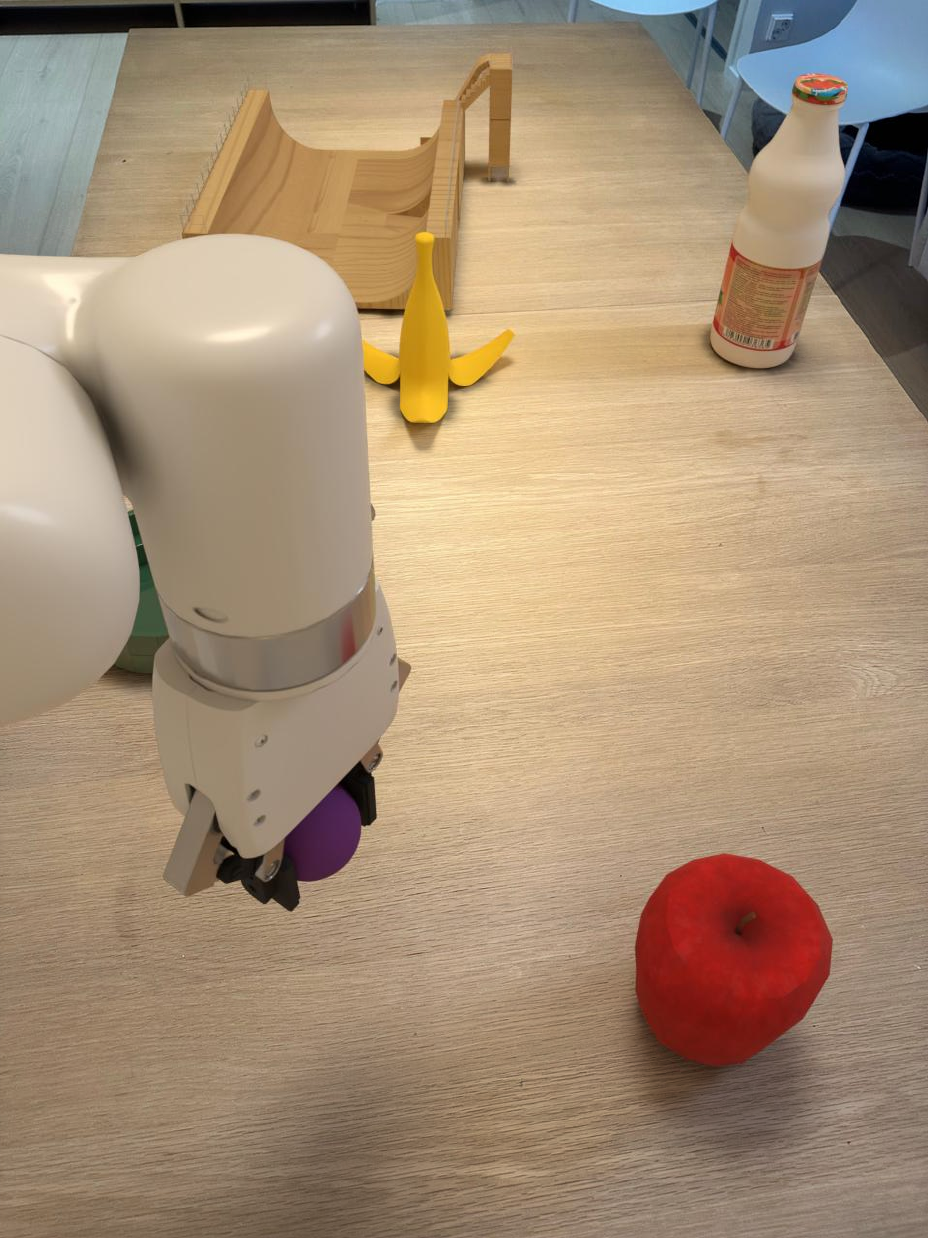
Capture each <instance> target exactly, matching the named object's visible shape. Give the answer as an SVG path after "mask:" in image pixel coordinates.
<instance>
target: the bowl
mask: <svg viewBox="0 0 928 1238" xmlns="http://www.w3.org/2000/svg"><path fill="white" fill-rule="evenodd" d="M127 512H128V517H129V521H130V525H131V529H132V533H133V538H134V542H135V547H136V551H137V557H138V564H139V575H140V593H139V604H138V608H137V613H136V617H135V621H134V625H133V629H132V632H131V635H130V637H129V639H128V641H127V643H126V644H125V646H124V648H123V649H122V651H121V653H120V655H119V656H118V658H117V660H116V661H115V663H114V664H113V665H112V666H113V667H116V668H119V669H122V670H125V671H128V672H129V671H130V672H132V673H136V674H152V675H153V668H154V657H155V654H156V652H157V650H158V649H159V648H160V647H161V646H162V645H163V644H164V643H165V642H166V640H167V639H168V638H169V634H168V630H167V627H166V623H165V620H164V616H163V612H162V609H161V605H160V602H159V598H158V595H157V591H156V588H155V584H154V581H153V577H152V574H151V570H150V567H149V563H148V560H147V556H146V553H145V549H144V545H143V542H142V538H141V535H140V531H139V528H138V524H137V521H136V517H135V514H134V510H133V509H131V510H127ZM112 666H111V667H112Z"/></svg>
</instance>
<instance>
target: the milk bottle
mask: <svg viewBox="0 0 928 1238" xmlns="http://www.w3.org/2000/svg"><path fill="white" fill-rule="evenodd" d="M848 92H849V85H848V83H847V82H846V81H845V80H844V79H842V78H840V77H837V76H834V75H830V74H825V73H817V72H815V73H813V72H811V73H805V74H801V75H799V76H797V78H796V79H795V81H794V83H793V86H792V88H791V95H790V98H791V101H792V103H791V106H790V107H789V110H788V112H787V114H786V115H785V118H784V119H783V121H782V123H781V124H780V126H779V128H778V129H777V131H776V133H775V134H774V135H773V137H772V139H771V140H770V141H769V142H768V143H767V144H766V145H765V146H764V147H763V148H761V149H760V150H759V152H758V153H757V154H756V155H755V157H754V159H753V161H752V164H751V166H750V170H749V172H748V177H747V191H748V192H747V195H748V196H747V201H746V202H745V204H744V206H743V207H742V209H741V210H740V212H739V214H738V217H737V220H736V223H735V227H734V230H733V233H732V237H731V243H730V247H729V252H728V256H727V259H726V260H727V261H726V264H725V269H724V273H723V277H722V281H721V285H720V290H719V293H718V298H717V302H716V307H715V311H714V316H713V318H712V319H713V320H712V324H711V328H710V344H711V348H713V350H714V351H715V353H716V354H717V355H719V356H720V357H721V358H722V359H724V360H726V361H727V362H729V363H732V364H734V365H737V366H741V367H745V368H751V369H769V368H774V367H778V366H779V365H782V364H784V363H786V361H788V360H789V359H790V358H791V356H792V355H793V353H794V351H795V348H796V346H797V343H798V339H799V337H800V333H801V331H802V330H801V329H802V326H803V323H804V320H805V316H806V314H807V311H808V307H809V304H810V301H811V297H812V294H813V292H814V288H815V285H816V282H817V278H818V275H819V271H820V268H821V265H822V261H823V259H824V256H825V253H826V249H827V246H828V241H829V238H830V232H831V219H830V215H831V211H832V210H833V208H834V206H835V205H836V204H837V202H838V200H839V198H840V196H841V195H842V191H843V188H844V184H845V181H846V180H845V179H846V168H845V164H844V161H843V158H842V153H841V147H840V134H839V133H840V132H839V128H840V127H839V112H840V109H841V108H842V107H844V105H845V102H846V100H847V97H848Z"/></svg>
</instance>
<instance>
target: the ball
mask: <svg viewBox="0 0 928 1238" xmlns="http://www.w3.org/2000/svg"><path fill="white" fill-rule="evenodd" d="M361 836H362V825H361V817H360V813H359V809H358V806H357V804H356V802H355V800H354V799H353V797H352V796H351V794H350V793H349V792H348V791H347V790H346V789H345V788H344V787H343V786H342V785H340V784H339V783H338V784H337V785H336V786H335V787H334V788H333V789H332V790H331V791H330V792H329V793H328V794H327V795H326V796H325V797H324V798H323V799H322V800H321V801H320V802H319V803H318V804H317V805H316V806H315V807H314V809H313V810H312V811H311V812H310V813H309V814H308V815H307V816H306V817H305V818H304V819H303V820H302V821H301V822H300V823H299V824H298V825H297V826H296V827H295V828H294V829H293V830H292V831H291V832H290V833H289V834H288V835H287V836H286V837H285V843H284V850H283V854H284V855H285V856H287V857H288V858H289V859H290V860H291V861H292V862H293V863H294V867H295V872H296V877H297V882H304V883H305V882H306V883H310V882H311V883H312V882H318V881H322V880H325V879H328V878H330V877H332V876H334V875H335V874H337V873H338V872H339V871H341V870H342V869H344V867H346V865H347V864H349V862H350V861H351V859H353V857H354V856H355V854H356V851H357V850H358V847H359V843H360V841H361Z"/></svg>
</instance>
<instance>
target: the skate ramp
mask: <svg viewBox="0 0 928 1238" xmlns="http://www.w3.org/2000/svg"><path fill="white" fill-rule="evenodd" d="M492 40H493V41H495V40H496V41H497V40H504V41H505V40H506V41H511V39H510V38H490V41H492ZM494 48H496V49H500V48H501V49H509V52H504V53H503V52H502V53H501V52H492V49H494ZM489 49H490V50H489V51H490V52H488V53H486V54H484V55H483V56H481V57H479V58H478V59H477V61H476V62H475V63H474V65H473V68H472V69H471V71H470V73H469V74H468V76H467V78H466V79H465V81H464V83H463V84H462V86H461V88H460V90H459V92H458V93H457V95H456V97H455V98H454V99H443V102H442V109H441V110H442V111H441V117H440V123H439V126H438V128H437V130H436V131H435V133H434V134H433V135H432V136H420V137H419V140H420V141H419V146H417V147H414V148H410V149H407V150H406V149H405V150H370V149H369V150H368V149H367V150H366V149H365V150H364V149H320V148H315V147H314V148H313V147H310V146H307V145H304V144H302V143H300V142H299V141H298V140H295V139H294V138H293V137H292V136H290V135H289V134H288V133H287V132H286V130H284V128H283V127H282V125H281V124H280V123H279V121H278V119H277V118H276V115H275V113H274V110H273V106H272V102H271V96H270V89H255V88H254V89H253V88H252V89H251V88H248V87H250V86H251V83H261V81H258V80H257V81H253V80H252V81H251V80H249V79H250V77H249V75H250V74H246V77H245V79H244V81H243V83H242V85H241V88H240V89H239V91H238V94H237V96H236V98H235V100H234V103H233V104H232V107H231V108H230V111H229V113H228V115H227V117H226V119H225V121H224V123H223V126H222V127H221V130H220V131H219V134H218V136H217V138H216V140H215V142H214V145H213V146H212V148H211V150H210V152H209V155H208V157H207V159H206V161H205V163H204V165H203V167H202V170H201V172H200V174H199V176H198V178H197V180H196V181H195V184H194V186H193V188H192V191H191V193H190V194H189V197H188V199H187V201H186V203H185V205H184V207H183V209H182V211H181V214H179V219H180V223H181V228H182V232H181V236H182V239H186V238H191V237H197V236H203V235H214V234H248V235H258V236H264V237H270V238H274V239H278V240H282V241H285V242H289V243H291V244H293V245H296V246H298V247H300V248H302V249H305V250H307V251H309V252H311V253H313V254H314V255H316V256H317V257H319V258H320V259H322V260H324V261H325V262H326V263H327V264H328V265H329V266H330V267H331V268H332V269H333V270H334V271H335V272H336V273H337V274H338V275H339V276H340V277H341V278H342V279H343V281H344V283H345V284H346V286H347V288H348V290H349V291H350V293H351V295H352V297H353V299H354V301H355V304H356V308H357V309H380V310H383V309H384V310H405V309H406V305H407V301H408V298H409V295H410V292H411V289H412V287H413V284H414V281H415V278H416V273H417V248H416V243H415V236H416V234H418V233H421V232H427V233H430V234H432V235H433V236H434V244H433V249H432V272H433V277H434V281H435V284H436V286H437V289H438V292H439V294H440V297H441V301H442V304H443V308H444V311H451V310H452V309H453V298H454V297H453V296H454V288H455V287H454V285H455V276H456V275H455V274H456V264H457V263H456V262H457V251H458V241H459V240H458V237H459V227H460V220H461V219H460V218H461V209H462V208H461V207H462V197H463V187H464V186H463V185H464V175H465V161H466V111H467V109H469V107H470V106H471V105H473V104H474V102H475V101H477V99H478V98H479V97H480V96H482V94H483V93H484V92H485V91H486V90H487V89H488V88H489V113H488V114H489V116H488V117H489V123H488V177H487V178H488V182H491V175H492V174H491V173H492V168H506V183H509V182H510V181H509V179H510V164H511V134H512V133H511V131H512V101H513V100H512V98H513V97H512V96H513V69H514V68H513V67H514V66H513V65H514V64H513V63H514V62H513V61H514V59H513V58H514V53H513V52H511V46H508V47H507V46H503V47H502V46H490V48H489ZM483 71H484V72H483ZM266 75H267V74H266V73H264V77H265V78H267V76H266ZM480 76H481V77H480ZM246 80H247V85H246ZM265 84H266V85H268V83H267V81H265ZM243 86H244V89H245V90H244V92H243V91H242V89H243ZM239 95H241V98H240V100H238V97H239ZM240 102H241V104H240ZM235 103H236V104H237V106H236V109H234V105H235ZM239 105H240V106H239ZM231 112H232V113H233V115H232V117H230V116H231V115H230V114H231ZM236 112H237V113H236ZM233 118H234V119H233ZM227 120H228V122H229V123H228V126H227V125H226V122H227ZM232 120H233V121H232ZM231 122H232V123H231ZM226 126H227V127H226ZM229 127H230V128H229ZM223 129H224V131H225V132H224V135H223V136H222V131H223ZM228 129H229V130H228ZM227 131H228V133H227ZM224 137H225V139H224ZM219 138H220V143H219V145H217V141H218V139H219ZM223 139H224V141H223ZM220 146H221V148H220ZM214 148H216V151H215V153H214V155H213V150H214ZM219 148H220V149H219ZM216 154H217V156H216ZM210 156H211V162H210V164H209V165H208V160H209V158H210ZM215 157H216V158H215ZM214 159H215V160H214ZM211 165H212V166H211ZM205 166H206V168H207V171H206V173H205V175H204V173H203V171H204V169H205ZM210 167H211V169H210ZM206 176H207V177H206ZM200 177H201V178H202V181H201V184H200V186H199V185H198V181H199V179H200ZM205 178H206V180H205ZM202 184H203V185H202ZM195 187H197V192H196V194H195V197H194V196H193V192H194V190H195ZM201 187H202V188H201ZM200 189H201V190H200ZM197 196H198V197H197ZM190 198H191V199H192V203H191V205H190V207H189V209H188V202H189V200H190ZM196 198H197V199H196ZM192 206H193V208H192ZM191 208H192V210H191ZM185 209H186V211H187V213H186V214H184V211H185ZM189 212H190V214H189ZM182 216H183V217H185V218H184V220H183V217H182ZM187 217H188V219H187ZM186 219H187V221H186Z"/></svg>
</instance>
